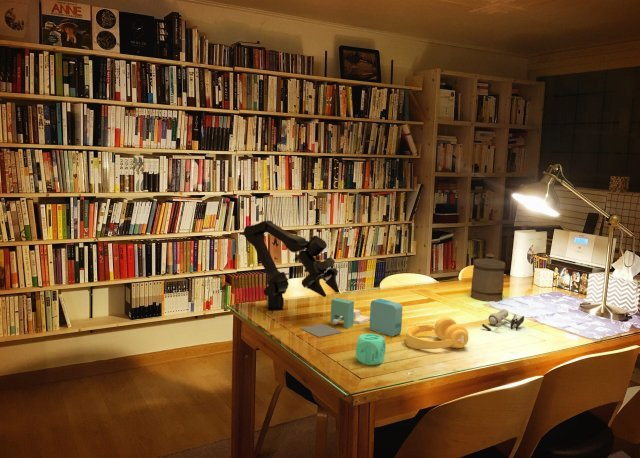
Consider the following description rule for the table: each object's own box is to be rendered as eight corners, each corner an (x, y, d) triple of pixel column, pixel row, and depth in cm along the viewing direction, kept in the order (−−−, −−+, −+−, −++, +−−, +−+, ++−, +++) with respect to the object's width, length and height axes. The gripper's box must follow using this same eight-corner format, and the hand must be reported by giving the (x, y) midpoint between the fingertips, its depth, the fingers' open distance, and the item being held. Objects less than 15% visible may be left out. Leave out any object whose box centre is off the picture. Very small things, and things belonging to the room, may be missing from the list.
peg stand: (323, 325, 218) (324, 315, 217) (349, 314, 234) (349, 305, 233) (345, 330, 212) (345, 320, 212) (370, 319, 228) (370, 310, 228)
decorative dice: (355, 362, 180) (356, 339, 179) (362, 354, 188) (363, 332, 187) (378, 367, 178) (380, 343, 176) (385, 358, 185) (386, 335, 184)
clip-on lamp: (501, 342, 215) (526, 324, 226) (501, 328, 213) (527, 311, 223) (475, 331, 224) (500, 315, 234) (475, 317, 222) (501, 301, 232)
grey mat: (300, 328, 213) (300, 327, 213) (322, 324, 220) (322, 323, 220) (318, 337, 204) (319, 336, 203) (342, 332, 210) (342, 331, 210)
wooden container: (505, 297, 274) (509, 253, 271) (497, 303, 261) (501, 257, 258) (475, 292, 281) (479, 249, 278) (466, 298, 269) (470, 253, 266)
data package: (401, 334, 210) (403, 304, 209) (394, 337, 207) (396, 306, 205) (376, 327, 218) (377, 297, 217) (369, 329, 215) (370, 299, 213)
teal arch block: (330, 324, 220) (331, 299, 219) (335, 321, 223) (336, 297, 222) (347, 328, 216) (348, 303, 214) (352, 325, 219) (354, 301, 217)
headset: (397, 337, 207) (399, 313, 206) (449, 336, 212) (451, 313, 211) (416, 355, 190) (418, 329, 189) (472, 353, 195) (475, 328, 194)
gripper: (308, 254, 214) (331, 286, 209) (335, 248, 229) (356, 278, 224) (291, 271, 219) (313, 303, 215) (318, 264, 235) (339, 294, 230)
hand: (332, 294), depth 221 cm, fingers open, 9 cm apart
